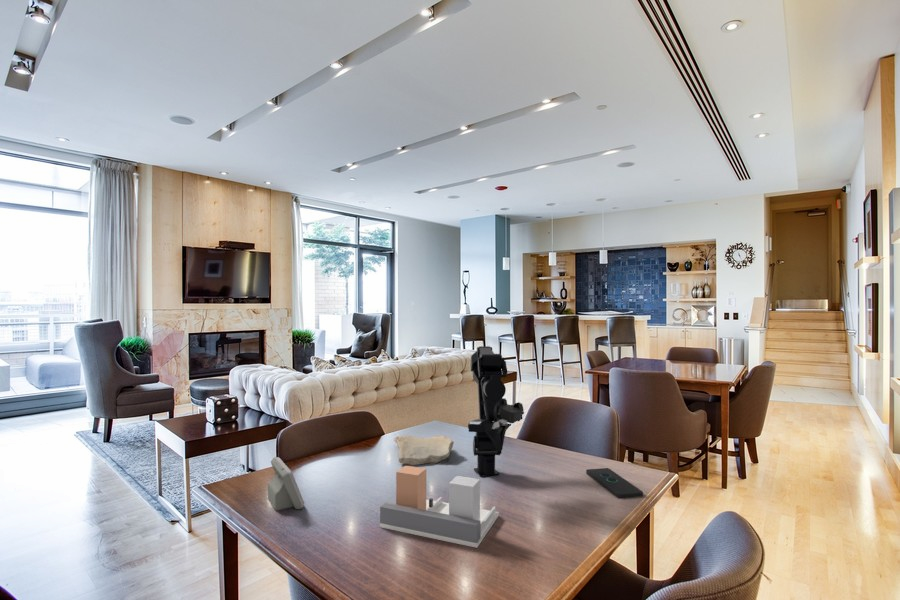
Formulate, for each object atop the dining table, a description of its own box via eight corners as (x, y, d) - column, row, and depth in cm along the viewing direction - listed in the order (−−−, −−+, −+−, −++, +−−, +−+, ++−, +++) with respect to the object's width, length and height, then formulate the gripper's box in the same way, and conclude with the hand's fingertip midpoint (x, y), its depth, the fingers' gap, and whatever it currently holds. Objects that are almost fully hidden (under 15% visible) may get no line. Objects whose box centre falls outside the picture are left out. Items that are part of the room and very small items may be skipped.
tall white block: (456, 520, 117) (456, 475, 117) (479, 524, 115) (480, 479, 115) (449, 529, 113) (449, 482, 113) (472, 534, 110) (473, 486, 110)
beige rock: (444, 445, 186) (392, 442, 182) (446, 426, 186) (394, 423, 182) (455, 469, 162) (396, 466, 158) (457, 447, 162) (398, 444, 158)
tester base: (411, 500, 132) (411, 482, 132) (498, 515, 122) (498, 496, 122) (380, 527, 116) (380, 506, 116) (476, 547, 107) (477, 525, 107)
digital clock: (305, 511, 125) (305, 470, 125) (268, 517, 122) (268, 475, 122) (300, 488, 140) (300, 452, 140) (267, 492, 137) (267, 455, 137)
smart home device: (608, 467, 155) (644, 492, 135) (608, 472, 155) (644, 498, 135) (584, 469, 153) (617, 494, 133) (584, 474, 153) (617, 500, 133)
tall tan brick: (405, 507, 124) (405, 465, 124) (426, 511, 122) (426, 468, 122) (396, 515, 120) (396, 471, 120) (417, 519, 117) (417, 475, 117)
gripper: (493, 401, 128) (501, 461, 126) (533, 390, 141) (541, 444, 140) (463, 402, 135) (470, 458, 134) (503, 391, 149) (510, 442, 147)
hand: (500, 450), depth 138 cm, fingers closed
